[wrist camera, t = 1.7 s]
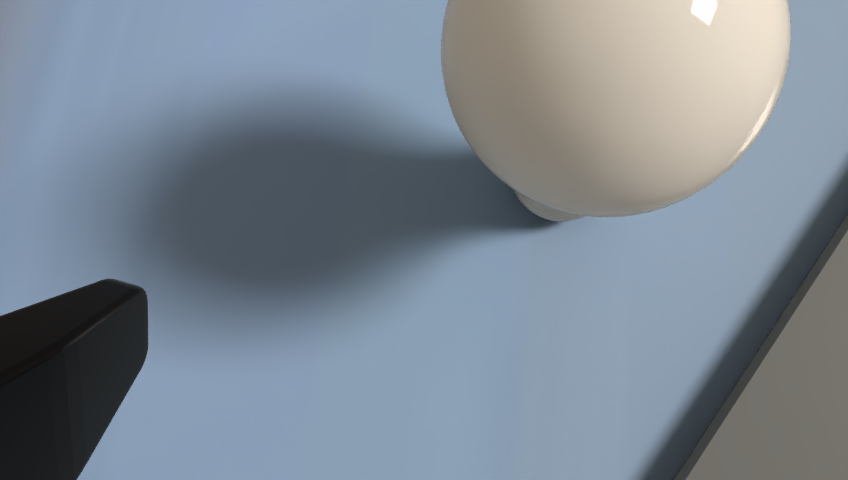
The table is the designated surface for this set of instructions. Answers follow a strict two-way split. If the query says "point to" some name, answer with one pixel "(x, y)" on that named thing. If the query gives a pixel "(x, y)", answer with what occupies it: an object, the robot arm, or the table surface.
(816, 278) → the slate tile
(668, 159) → the lightbulb
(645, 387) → the table surface
